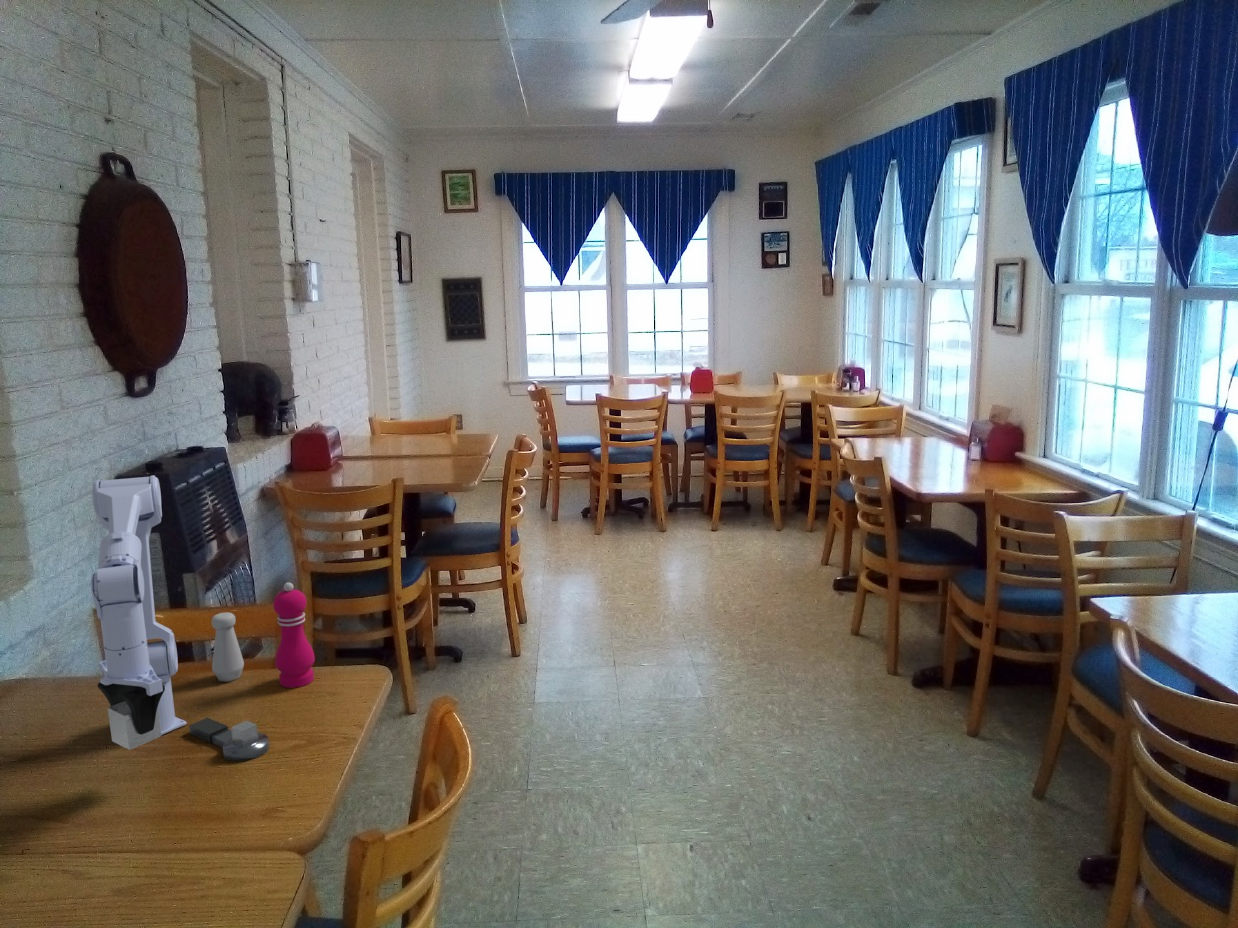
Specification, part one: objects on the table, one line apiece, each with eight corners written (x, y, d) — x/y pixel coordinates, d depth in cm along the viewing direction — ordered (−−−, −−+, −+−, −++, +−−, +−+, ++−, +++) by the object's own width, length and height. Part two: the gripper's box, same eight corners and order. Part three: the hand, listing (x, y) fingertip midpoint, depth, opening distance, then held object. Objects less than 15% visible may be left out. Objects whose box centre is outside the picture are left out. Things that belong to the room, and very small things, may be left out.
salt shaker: (233, 684, 179) (226, 620, 176) (207, 682, 180) (200, 619, 177) (251, 672, 184) (244, 610, 182) (225, 670, 185) (218, 608, 183)
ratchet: (179, 737, 158) (176, 713, 157) (216, 721, 164) (213, 698, 163) (240, 765, 148) (237, 740, 147) (277, 747, 154) (275, 722, 153)
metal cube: (112, 740, 141) (107, 707, 140) (144, 727, 145) (139, 695, 144) (129, 749, 139) (124, 715, 138) (161, 736, 143) (157, 702, 142)
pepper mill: (283, 674, 183) (273, 577, 179) (320, 672, 184) (312, 575, 180) (272, 690, 176) (263, 589, 172) (311, 688, 176) (302, 587, 173)
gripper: (73, 641, 140) (85, 725, 143) (124, 662, 132) (135, 750, 134) (120, 627, 146) (130, 707, 148) (171, 646, 138) (181, 730, 140)
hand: (136, 726), depth 142 cm, fingers closed on metal cube, 5 cm apart
